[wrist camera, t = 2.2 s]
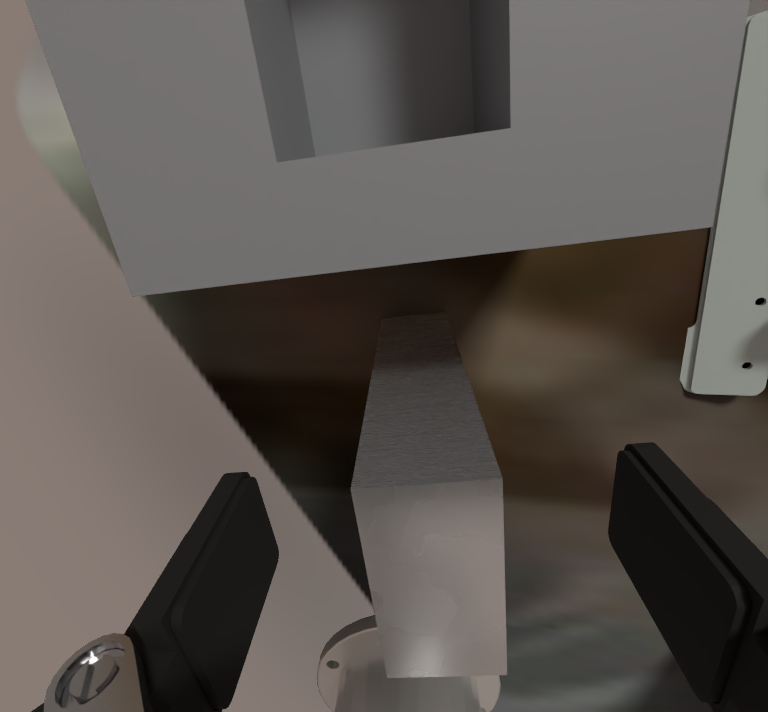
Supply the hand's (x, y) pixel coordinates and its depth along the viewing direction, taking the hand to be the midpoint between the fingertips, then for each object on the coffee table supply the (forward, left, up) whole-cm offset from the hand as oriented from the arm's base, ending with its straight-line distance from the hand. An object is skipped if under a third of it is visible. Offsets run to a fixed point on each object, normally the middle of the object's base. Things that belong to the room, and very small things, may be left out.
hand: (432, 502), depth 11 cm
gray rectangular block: (-1, 0, -10) cm, 10 cm away
